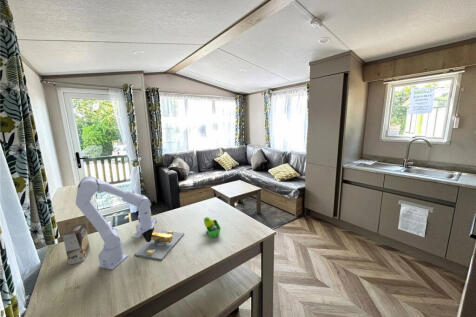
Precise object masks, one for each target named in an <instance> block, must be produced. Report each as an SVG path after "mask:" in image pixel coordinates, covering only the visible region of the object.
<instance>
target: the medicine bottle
mask: <svg viewBox="0 0 476 317" xmlns="http://www.w3.org/2000/svg"><path fill="white" fill-rule="evenodd" d="M137 221H138V222H137V223H136V224H135V230H136V232H137V231H138V230H139V228H140V227H141V226H140V219H139V215H138V216H137ZM136 232H135V233H136ZM142 236H143V235H142V234H141V235H140V237H142Z"/></svg>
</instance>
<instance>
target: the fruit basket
mask: <svg viewBox="0 0 476 317" xmlns="http://www.w3.org/2000/svg"><path fill="white" fill-rule="evenodd" d="M203 222H204V226H205V228H206V230H207V232H208V236H209V238H214V237H219V236H220V232H221V226H220V225H219V223H218V221H217V219H213V218H210V217H208V216H206V217H204V218H203Z"/></svg>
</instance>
